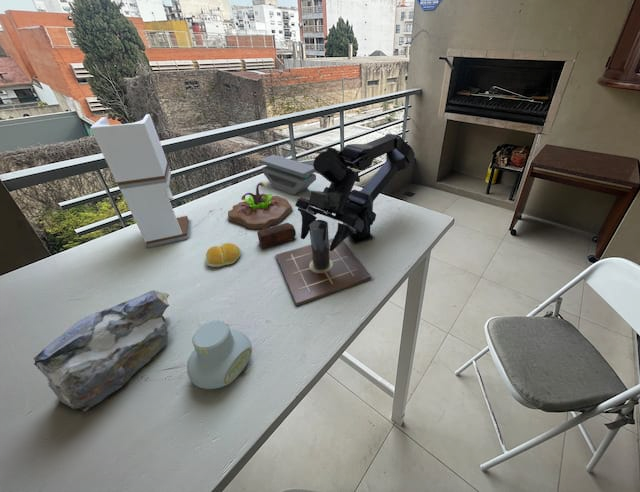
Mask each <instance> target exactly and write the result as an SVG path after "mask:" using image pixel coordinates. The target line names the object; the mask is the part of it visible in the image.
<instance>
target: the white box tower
mask: <svg viewBox="0 0 640 492" xmlns="http://www.w3.org/2000/svg"><path fill="white" fill-rule="evenodd" d="M89 129H90V131H91V133H92V135H93V137H94V139H95V141H96V143H97V145H98V147H99V149H100V150H99V151H100V152H101V153H102V156H103V158H104V161H105V162H106V165H107V166H108V168H109V171H110V172H111V174H112V176H113V178H114V180H115V182H116V185H117V187H118V188H119V191H120V192H121V194H122V197H123V198H124V201H125V203H126V205H127V207H128V209H129V211H130V213H131V215H132V217H133V219H134V221H135V223H136V225H137V227H138V230H139V231H140V233H141V235H142V238H143V240H144V242H145V244H146V246H147V248H152V247H156V246H161V245H167V244H171V243H175V242H179V241H184V240H189V234H190V233H189V232H190V231H189V230H190V220H189V217H188V215H184V216H179V217H177V215H176V213H175V211H174V208H173V206H172V203H171V201H172V200H174V196H173V193H172V191H171V188H170V181H171V175H172V171H171V169H170V165H169V163H168V159H167V157H166V155H165V151H164V149H163V146H162V144H161V141H160V138H159V135H158V131H157V130H156V127H155V124H154V122H153V119H152V116H151V114H150V113H146V114H145V116H144V117H143V118H142V119H141V120H138V121H135V122H129V123H121V124H110V122H109V120H108V118H107V116H104V117H103V116H102V117H100V119H98V120H97V121H96V122H94V123H93V124H92V125H91V126H90V127H89Z"/></svg>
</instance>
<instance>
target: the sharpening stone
mask: <svg viewBox="0 0 640 492" xmlns="http://www.w3.org/2000/svg"><path fill="white" fill-rule="evenodd" d="M258 163H259V164H260V165H264V166H263V167H261V170H262V174H263V175H264V176H265V177H266V179H267V180H268V182H269V183H270V184H271V186H272V187H273V188H274V189H276V190H279V191H282V192H285V193H287V194H290V195H294V196H295V195H296V194H298V193H300V192H302V191H304V190H306V189H308V187H310V186H311V185H312V184H313V183H314V182H316V180H317V174H316V172H317V171H316V170H315V169H314V166H313V165H311V164H307V163H304V162H302V161H298V160H294V159H290V158H287V157H284V156H280V155H277V154H270V155H269V156H265V157H262V158H260V159H258Z"/></svg>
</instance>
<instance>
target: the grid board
mask: <svg viewBox="0 0 640 492" xmlns="http://www.w3.org/2000/svg"><path fill="white" fill-rule="evenodd" d="M333 239H334V237H333V238H330V239H329V249H330V246H331V243H332V241H333ZM329 255H330V266H329V267H328V268H327V269H324V270H317V269H315V268H314V267H313V259H312V249H311V244H309V245H306V246H302V247H298V248H295V249H292V250H287V251H284V252H280V253H276V254H275V258H276V260H277V262H278V265H279V267H280V269H281V272H282V274H283V277H284V279H285V282H286V284H287V286H288V289H289V291H290V294H291V296H292V298H293V301H294V303H295V305H296V307H298V306H300V305H303V304H306V303H309V302H312V301H315V300H317V299H320V298H323V297H325V296H328V295H331V294H334V293H337V292H340V291H343V290H345V289H348V288H350V287H354V286H356V285H359V284H362V283H364V282H366V281H370V280H371V275H370V273H368V271H367V270H366V269H365V267H364V266H363V265H362V263H361V262H360V261H359V260H358V258H357V257H356V255H354V253H353V252H352V251H351V249H350V248H349V247H348V245H347V244H346V243H345V241H344V240H343V241H342V242H341V243H340V244H339V245H338V246H337V247H336V248H335V249H334V250H333V251H330V250H329Z"/></svg>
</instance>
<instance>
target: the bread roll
mask: <svg viewBox="0 0 640 492" xmlns="http://www.w3.org/2000/svg"><path fill="white" fill-rule="evenodd" d="M241 253H242V252H241V248H240V247H239V246H238V245H237V244H235V243H231V242H230V243H229V242H227V243H223V244H221V245H220V246H219V245H213V246H211V247H209V248H208V249H207V250H206V253H205V262H206V265H207V266H208V267H212V268H220V267H223V266H227V265H228V266H229V265H233V264H234V263H236V261H238V259H239V258H240V256H241Z"/></svg>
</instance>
